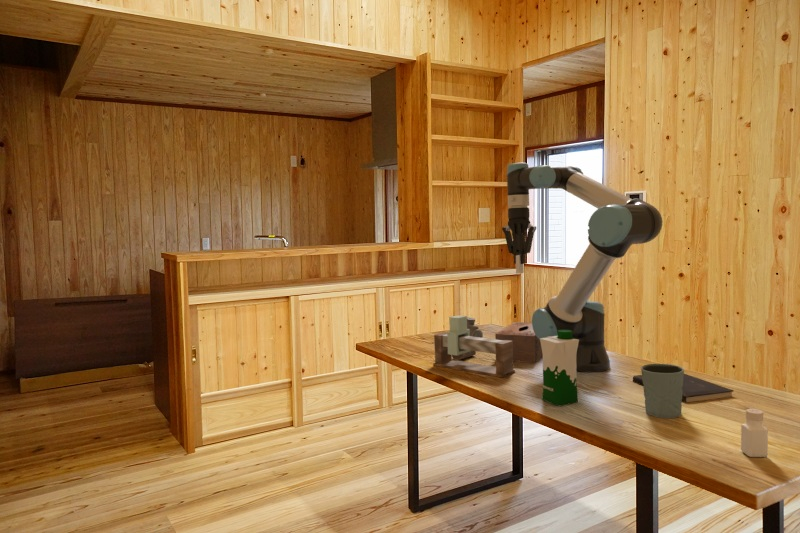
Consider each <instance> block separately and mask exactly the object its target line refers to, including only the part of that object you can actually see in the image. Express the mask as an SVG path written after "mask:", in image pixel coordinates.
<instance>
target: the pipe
mask: <svg viewBox="0 0 800 533" xmlns="http://www.w3.org/2000/svg"><path fill="white" fill-rule="evenodd" d="M476 353H477V351H471V350H470V351H469V352H466V353H463V354H460V355H457V356H456V355H452V360H457V361H461V360H464V359H468V358H470V357H472V356H474V355H475V356H476Z"/></svg>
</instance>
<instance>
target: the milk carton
mask: <svg viewBox="0 0 800 533" xmlns="http://www.w3.org/2000/svg"><path fill="white" fill-rule="evenodd" d="M540 342H541V347H542V353H543V355H542V401H545V402H548V403H550V404H552V405H554V406H556V407H561V406H566V405H570V404H576V403H579V398H578V385H577V382H578V381H577V377H578V376H577V372H578V371H577V370H576V353H577V348H578V343H579V340H578V339H576V338H573V337H572V330H558V336H552V337H547V338H540Z"/></svg>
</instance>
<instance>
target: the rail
mask: <svg viewBox="0 0 800 533" xmlns="http://www.w3.org/2000/svg"><path fill="white" fill-rule="evenodd" d="M433 337H434V338H433V340H434V362H433V366H435V367H441V368H446V369H451V370H458V371H461V372H462V371H463V372H469V373H474V374H480V375H486V376H491V375H492V377H496V376H498V378H504V377H506V376H510V375H512V374H514V373H516V370H515V369H514V361H513V341H510V340H496V339H495V338H486V337H482V338H480V337H472V336H466V335H465V334H462V335H458V350H459V349H464V350H471V351H476V352H479V353H485V354H486V353H487V354H493V355H495V366H493V365H492V366H491V365H488V364H487V365H486V364H481V363H474V362H469V361H461V360H454V359H453V357H452V355H450V354H448V343H447V332H444V331H443V332H439V333H437V334H434V335H433ZM509 374H510V375H509Z"/></svg>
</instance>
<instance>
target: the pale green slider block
mask: <svg viewBox="0 0 800 533" xmlns="http://www.w3.org/2000/svg"><path fill="white" fill-rule="evenodd" d="M446 333H447V343H448V354H450V355H456V356H457V355H460V354H463V353H466V352H469V351H470V350H464V349H459V350H458V335H462V334H465V335H466V336H470V329H467V315H459V314H457V315H454V316H450V317H449V331H447V332H446Z"/></svg>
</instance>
